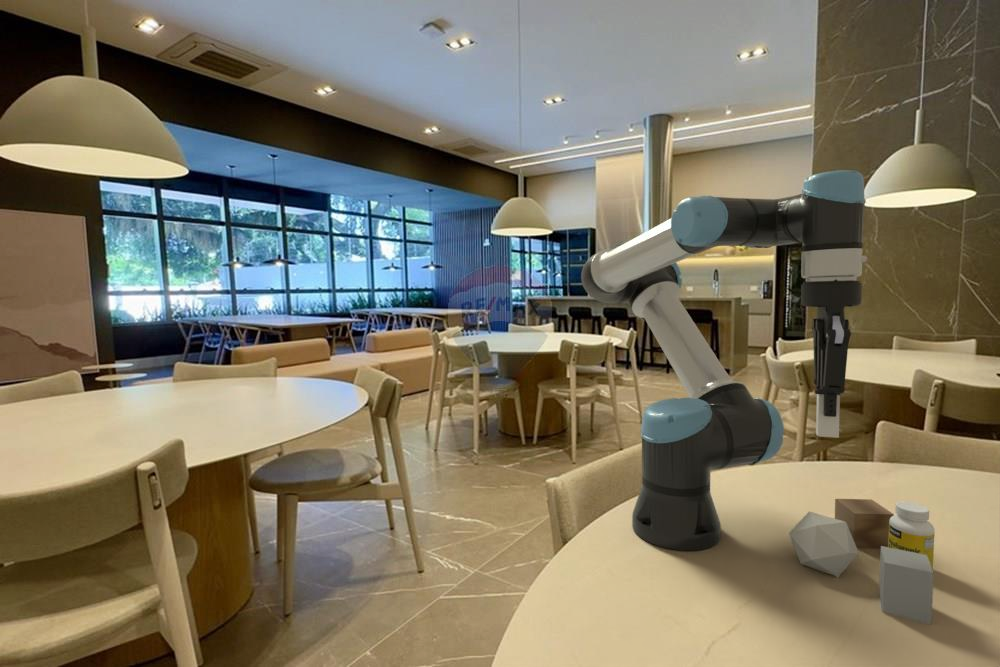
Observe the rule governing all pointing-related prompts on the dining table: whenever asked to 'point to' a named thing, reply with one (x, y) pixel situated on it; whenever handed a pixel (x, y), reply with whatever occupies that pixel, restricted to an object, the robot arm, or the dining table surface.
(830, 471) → the dining table surface
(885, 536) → the walnut block
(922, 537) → the supplement bottle
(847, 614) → the dining table surface
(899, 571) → the grey block
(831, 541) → the die
